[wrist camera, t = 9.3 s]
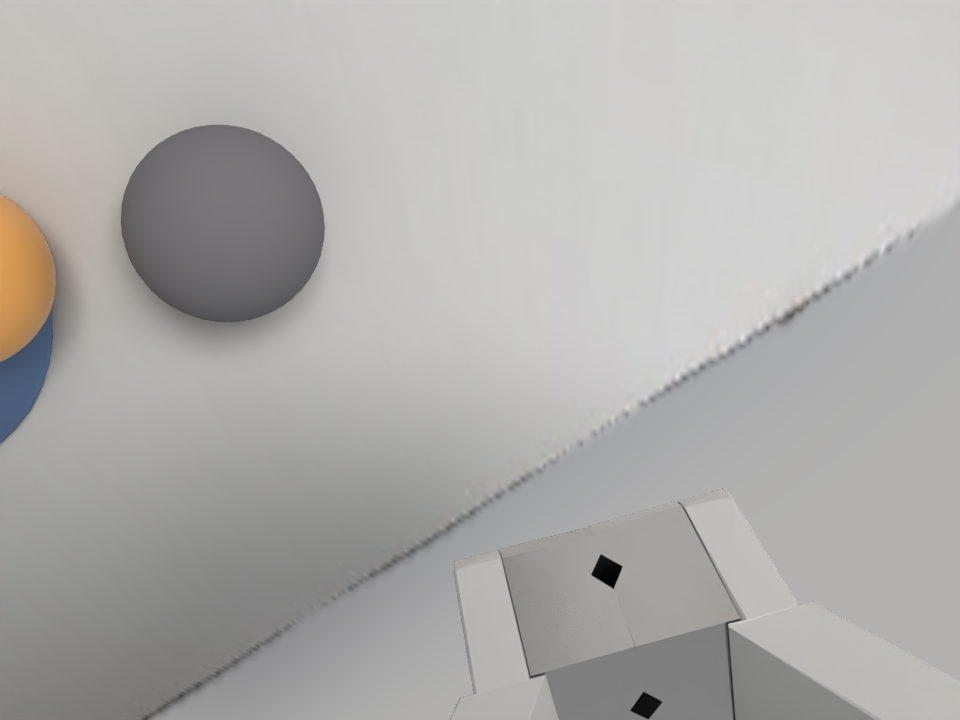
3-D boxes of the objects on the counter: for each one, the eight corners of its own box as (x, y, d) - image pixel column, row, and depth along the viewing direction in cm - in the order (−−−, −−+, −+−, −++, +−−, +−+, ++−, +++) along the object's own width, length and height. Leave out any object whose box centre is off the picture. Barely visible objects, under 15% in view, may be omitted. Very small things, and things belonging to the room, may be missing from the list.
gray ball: (353, 222, 19) (354, 144, 23) (130, 133, 17) (173, 65, 21) (279, 383, 21) (291, 287, 26) (75, 320, 20) (123, 227, 24)
